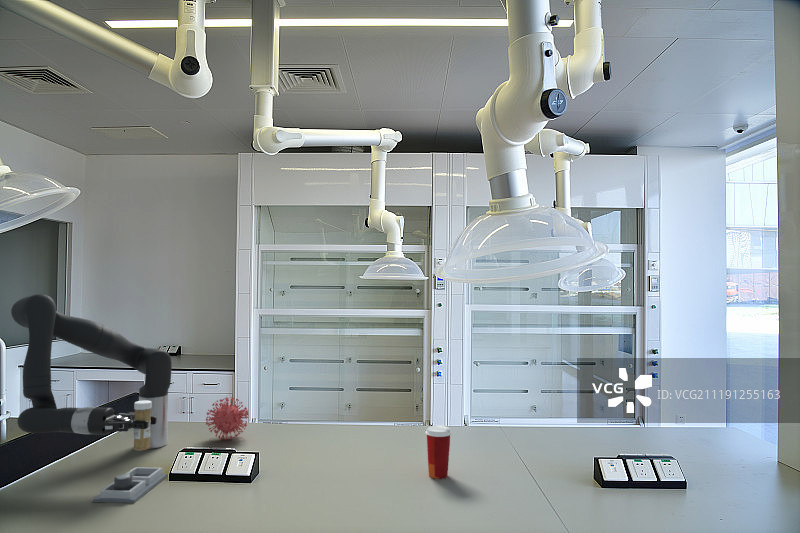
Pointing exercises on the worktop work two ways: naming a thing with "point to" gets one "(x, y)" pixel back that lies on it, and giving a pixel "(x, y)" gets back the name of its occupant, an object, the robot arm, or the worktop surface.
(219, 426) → the virus model
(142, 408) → the sprinkles bottle
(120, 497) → the grey flat tray
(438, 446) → the paper cup
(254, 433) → the worktop surface
